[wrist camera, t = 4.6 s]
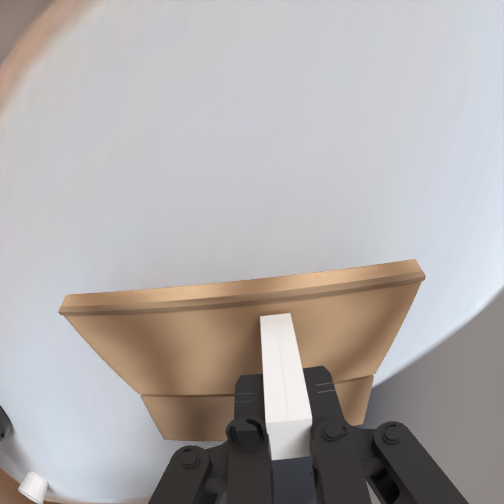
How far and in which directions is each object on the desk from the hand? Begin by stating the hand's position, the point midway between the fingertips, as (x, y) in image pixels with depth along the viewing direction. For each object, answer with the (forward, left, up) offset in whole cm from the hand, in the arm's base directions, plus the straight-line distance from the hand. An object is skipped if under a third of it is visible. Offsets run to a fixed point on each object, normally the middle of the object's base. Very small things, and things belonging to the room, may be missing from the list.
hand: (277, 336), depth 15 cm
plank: (-2, -3, -3) cm, 5 cm away
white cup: (-58, -49, -6) cm, 76 cm away
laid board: (-2, -13, -6) cm, 14 cm away
